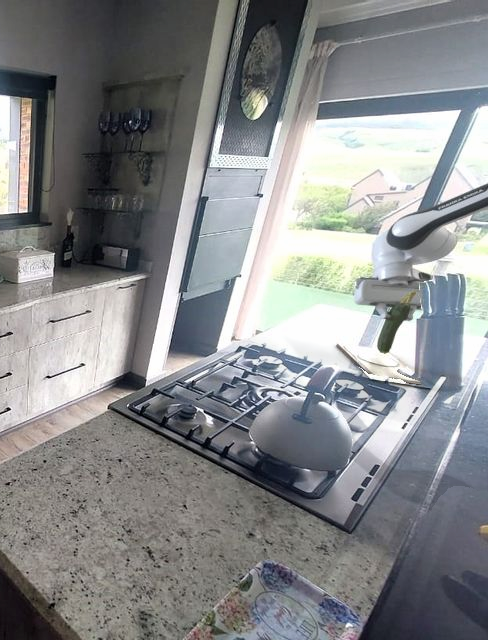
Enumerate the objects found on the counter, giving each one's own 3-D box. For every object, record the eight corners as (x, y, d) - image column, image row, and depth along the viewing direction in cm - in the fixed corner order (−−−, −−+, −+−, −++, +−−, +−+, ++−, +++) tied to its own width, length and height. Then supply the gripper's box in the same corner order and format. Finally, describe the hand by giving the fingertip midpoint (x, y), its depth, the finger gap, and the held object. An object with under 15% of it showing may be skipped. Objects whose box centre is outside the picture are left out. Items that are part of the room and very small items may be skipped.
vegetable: (373, 354, 126) (404, 291, 116) (367, 349, 129) (396, 287, 120) (391, 356, 124) (423, 293, 115) (384, 350, 128) (415, 289, 119)
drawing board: (385, 352, 134) (387, 349, 133) (431, 389, 112) (433, 385, 111) (335, 345, 138) (337, 342, 137) (370, 379, 116) (372, 376, 115)
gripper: (361, 270, 124) (364, 311, 120) (440, 276, 120) (446, 318, 116) (347, 281, 130) (350, 320, 126) (422, 286, 126) (427, 327, 122)
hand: (397, 319), depth 121 cm, fingers closed on vegetable, 4 cm apart
